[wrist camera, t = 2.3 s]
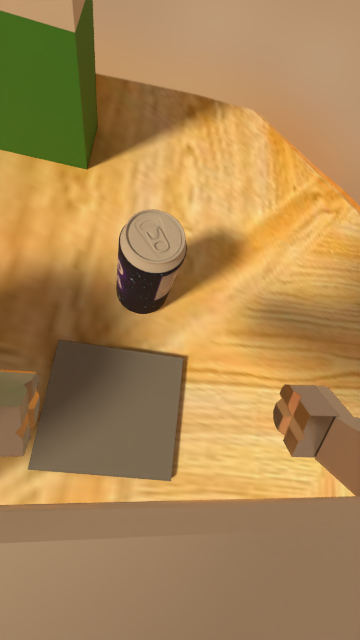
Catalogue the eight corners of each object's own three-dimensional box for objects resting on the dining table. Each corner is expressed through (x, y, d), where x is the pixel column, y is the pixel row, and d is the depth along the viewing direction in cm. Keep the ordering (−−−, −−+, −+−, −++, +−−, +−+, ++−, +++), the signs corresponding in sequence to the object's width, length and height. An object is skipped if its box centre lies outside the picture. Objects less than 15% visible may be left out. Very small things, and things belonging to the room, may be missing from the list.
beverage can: (152, 264, 38) (170, 197, 26) (174, 305, 37) (202, 253, 25) (108, 280, 36) (107, 216, 25) (129, 324, 35) (138, 277, 24)
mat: (169, 479, 31) (171, 481, 30) (29, 468, 29) (27, 469, 28) (181, 359, 35) (183, 358, 34) (59, 341, 33) (58, 339, 32)
